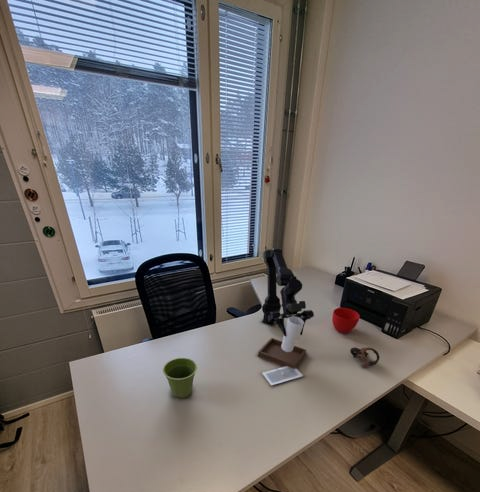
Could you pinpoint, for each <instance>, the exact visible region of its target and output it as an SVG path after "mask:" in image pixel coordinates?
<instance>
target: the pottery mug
mask: <svg viewBox="0 0 480 492" xmlns="http://www.w3.org/2000/svg"><path fill="white" fill-rule="evenodd" d="M367 351H372V352H373V353H374V354H375V355H376V359H375V360H369V361H368V358H367V357H368V356H369V355H370V353H369V352H367ZM349 352H350V355H352V357H353V358H354V359H356V358H357V356H360V358H361V360H362V362H363V364H362V367H363V368H365V369H367V368H371V367H375V366H377V364H378V363H379V362H380V361H379V360H380V354H379V352H378V351H377V349H375V348H373V347H361V348H358V347H355V346H354V347H351V348H350V350H349Z"/></svg>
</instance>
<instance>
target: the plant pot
mask: <svg viewBox="0 0 480 492" xmlns="http://www.w3.org/2000/svg"><path fill="white" fill-rule="evenodd" d="M197 370H198V365H197V363H196V361H194V360H193V359H191V358H188V357H176V358H173V359H171V360H169V361H167V362H166V363H164V365H163V367H162V373H163V375H164V376H165V378H166V379H167V382H168V385H169V388H170V391H171V395H173V396H174V397H175V398H180V399H183V398H184V399H185V398H186V397H188V396H189V395H191V393H192V391H193V383H194V378H195V375H196V372H197Z"/></svg>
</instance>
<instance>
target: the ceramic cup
mask: <svg viewBox="0 0 480 492" xmlns="http://www.w3.org/2000/svg"><path fill="white" fill-rule="evenodd" d="M360 317H361V316H360V314H359V312H357V311H356V310H353V309H351V308H347V307H339V306H338V307H337V308H335V309H333V312H332V319H331V320H332V325H333V328H334V329H335V330H336V332H338V333H340V334H348V333H351V331H353V330H354V329H355V328H356V327H357V325H358V322H359V320H360Z"/></svg>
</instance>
